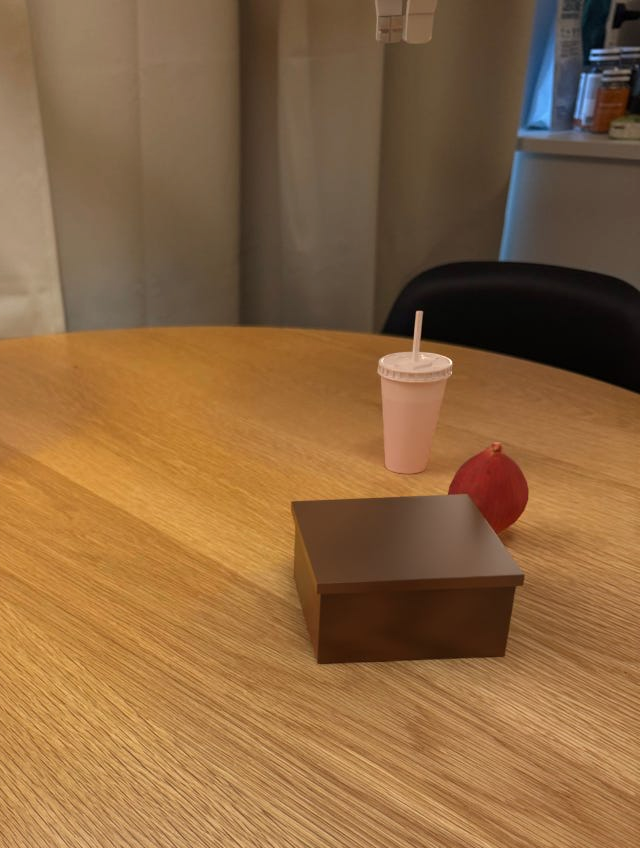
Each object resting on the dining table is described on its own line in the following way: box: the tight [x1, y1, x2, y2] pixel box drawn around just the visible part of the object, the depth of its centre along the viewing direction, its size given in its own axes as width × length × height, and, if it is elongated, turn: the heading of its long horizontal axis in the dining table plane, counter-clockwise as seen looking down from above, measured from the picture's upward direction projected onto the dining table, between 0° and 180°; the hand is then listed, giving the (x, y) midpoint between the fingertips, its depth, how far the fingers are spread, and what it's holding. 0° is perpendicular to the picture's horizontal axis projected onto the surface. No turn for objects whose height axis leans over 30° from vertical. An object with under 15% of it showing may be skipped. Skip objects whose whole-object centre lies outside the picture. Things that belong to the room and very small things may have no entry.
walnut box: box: [290, 494, 526, 664], centre depth 68 cm, size 13×13×6 cm
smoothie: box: [376, 310, 454, 475], centre depth 89 cm, size 6×6×14 cm
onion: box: [447, 441, 530, 535], centre depth 77 cm, size 6×6×8 cm
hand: (401, 43), depth 75 cm, fingers open, 8 cm apart
